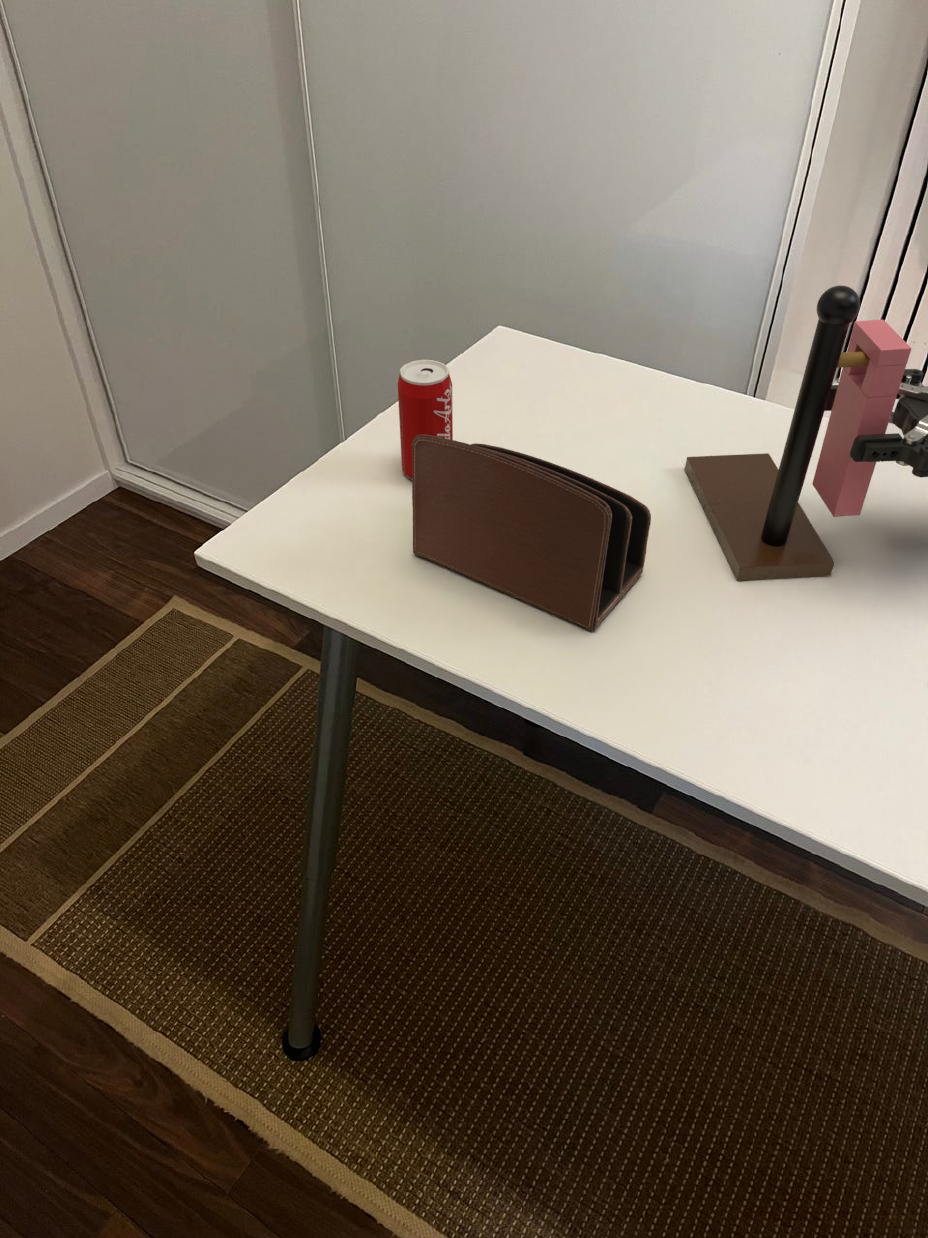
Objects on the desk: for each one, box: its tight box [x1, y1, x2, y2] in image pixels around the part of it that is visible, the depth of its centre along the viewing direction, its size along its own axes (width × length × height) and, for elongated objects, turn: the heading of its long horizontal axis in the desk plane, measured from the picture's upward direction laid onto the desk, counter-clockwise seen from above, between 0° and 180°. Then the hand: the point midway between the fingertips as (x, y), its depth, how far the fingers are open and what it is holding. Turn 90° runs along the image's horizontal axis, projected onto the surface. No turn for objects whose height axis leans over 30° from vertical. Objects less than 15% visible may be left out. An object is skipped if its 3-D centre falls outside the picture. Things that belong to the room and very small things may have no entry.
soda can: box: [397, 359, 454, 480], centre depth 97 cm, size 6×6×12 cm
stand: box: [684, 285, 870, 582], centre depth 86 cm, size 12×19×26 cm, turn 5°
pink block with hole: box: [812, 319, 912, 518], centre depth 82 cm, size 2×5×16 cm, turn 5°
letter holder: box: [411, 434, 652, 633], centre depth 85 cm, size 10×20×14 cm, turn 56°
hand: (834, 422), depth 82 cm, fingers open, 8 cm apart
